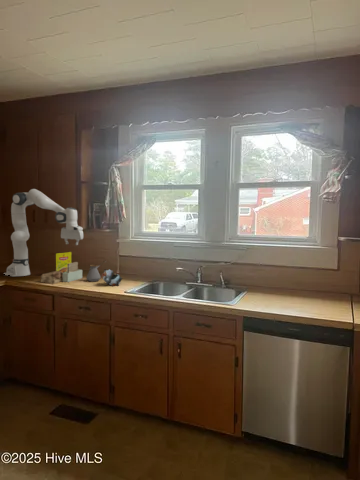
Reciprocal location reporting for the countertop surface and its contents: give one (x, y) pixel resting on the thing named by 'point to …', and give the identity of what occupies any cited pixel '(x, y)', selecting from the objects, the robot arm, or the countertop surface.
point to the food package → (62, 261)
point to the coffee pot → (94, 273)
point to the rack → (50, 278)
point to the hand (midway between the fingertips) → (71, 244)
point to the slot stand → (72, 276)
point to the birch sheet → (72, 267)
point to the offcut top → (57, 274)
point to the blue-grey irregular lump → (111, 278)
